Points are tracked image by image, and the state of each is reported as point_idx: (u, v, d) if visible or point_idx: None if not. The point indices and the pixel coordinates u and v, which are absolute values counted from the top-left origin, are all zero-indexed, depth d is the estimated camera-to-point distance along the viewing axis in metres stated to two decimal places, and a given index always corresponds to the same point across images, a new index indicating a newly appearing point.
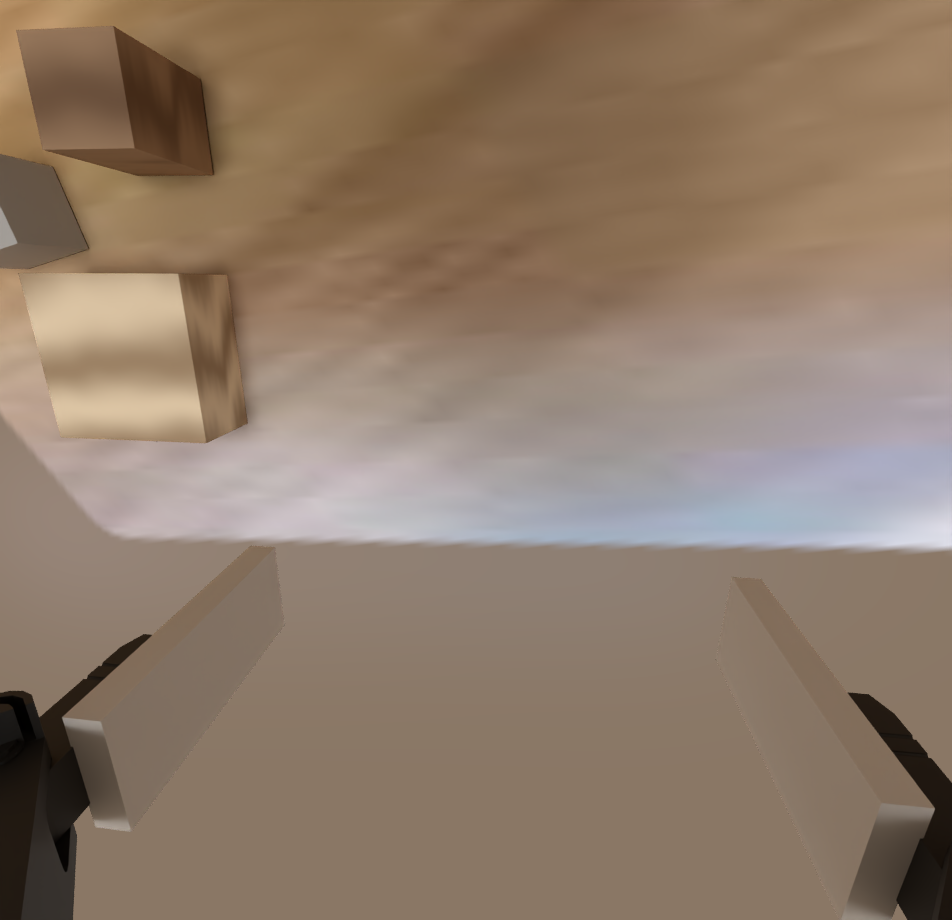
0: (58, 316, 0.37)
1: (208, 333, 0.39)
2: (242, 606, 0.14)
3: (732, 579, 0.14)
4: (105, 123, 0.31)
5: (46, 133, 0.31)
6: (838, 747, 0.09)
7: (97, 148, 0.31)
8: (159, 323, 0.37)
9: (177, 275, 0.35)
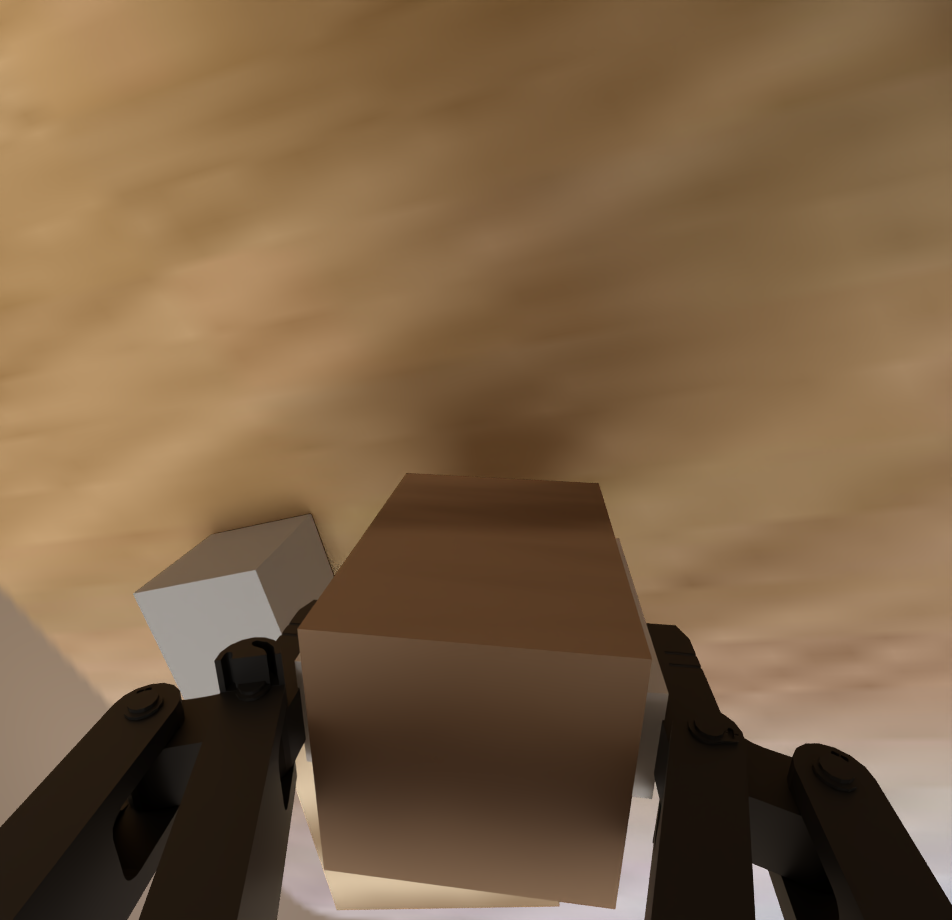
0: None
1: None
2: None
3: None
4: (540, 851, 0.10)
5: (344, 844, 0.11)
6: None
7: (494, 889, 0.11)
8: None
9: None
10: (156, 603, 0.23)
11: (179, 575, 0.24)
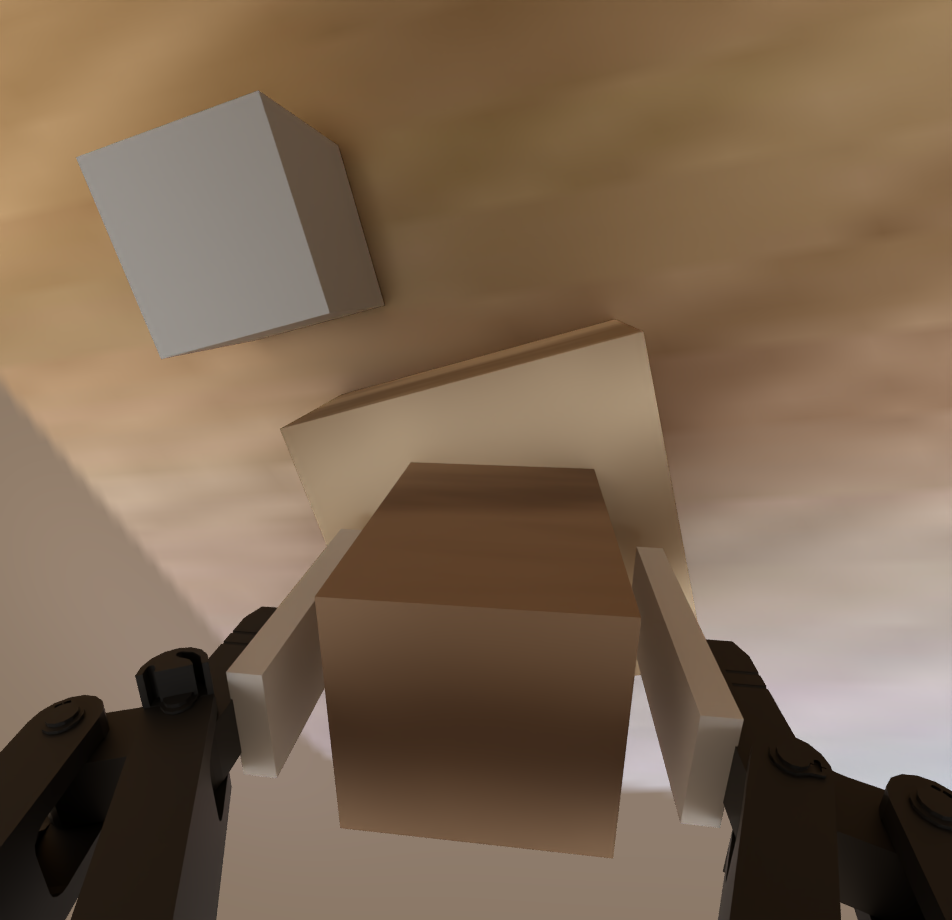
0: (372, 492, 0.18)
1: None
2: None
3: (636, 549, 0.16)
4: (542, 804, 0.11)
5: (359, 802, 0.11)
6: (683, 677, 0.11)
7: (499, 843, 0.11)
8: (598, 451, 0.17)
9: (641, 336, 0.15)
10: (111, 173, 0.15)
11: None
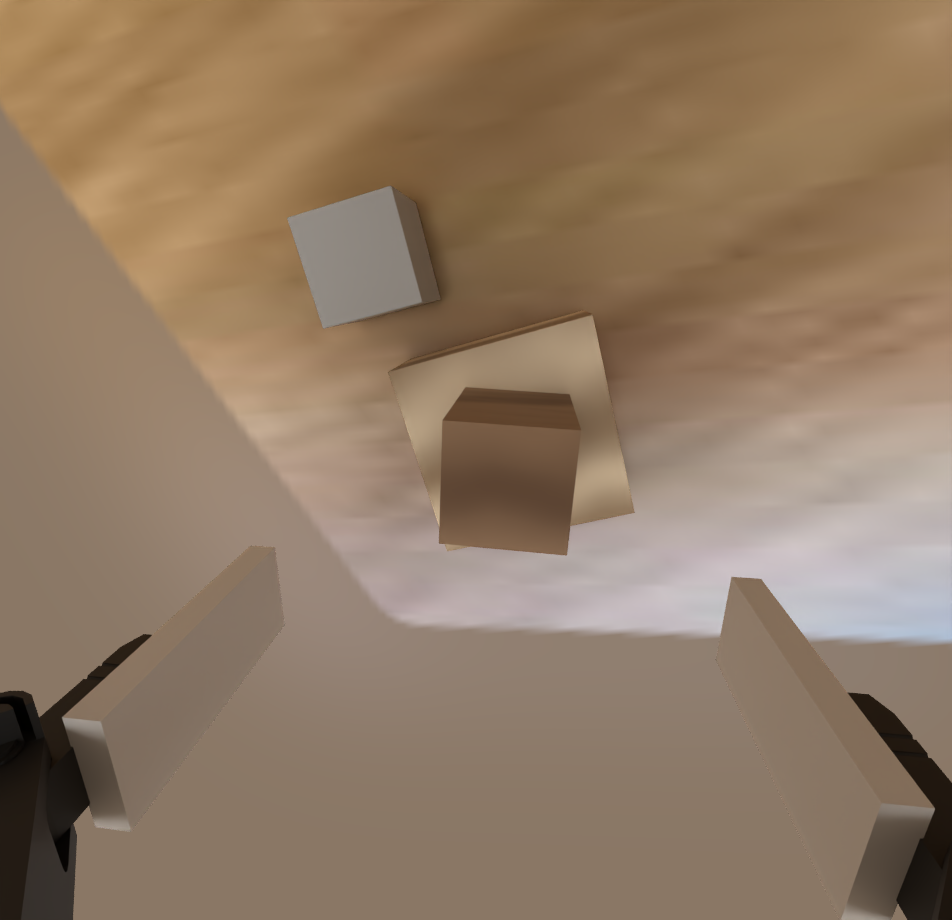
0: (439, 409, 0.31)
1: None
2: (242, 606, 0.14)
3: (732, 580, 0.14)
4: (535, 526, 0.24)
5: (449, 528, 0.24)
6: (838, 747, 0.09)
7: (514, 549, 0.24)
8: (569, 382, 0.30)
9: (591, 317, 0.28)
10: (306, 226, 0.28)
11: None
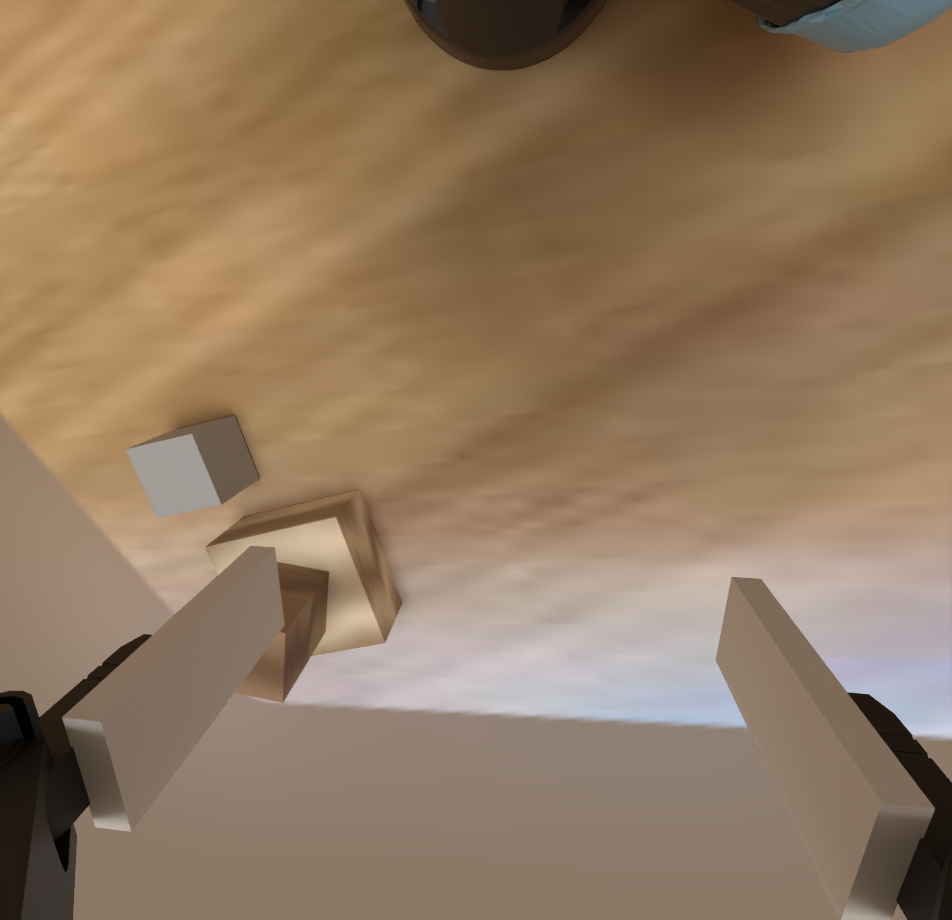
0: None
1: (363, 548, 0.45)
2: (242, 606, 0.14)
3: (732, 580, 0.14)
4: (262, 683, 0.37)
5: None
6: (838, 747, 0.09)
7: (250, 695, 0.37)
8: (327, 558, 0.42)
9: (335, 518, 0.41)
10: (138, 455, 0.41)
11: (152, 441, 0.42)
